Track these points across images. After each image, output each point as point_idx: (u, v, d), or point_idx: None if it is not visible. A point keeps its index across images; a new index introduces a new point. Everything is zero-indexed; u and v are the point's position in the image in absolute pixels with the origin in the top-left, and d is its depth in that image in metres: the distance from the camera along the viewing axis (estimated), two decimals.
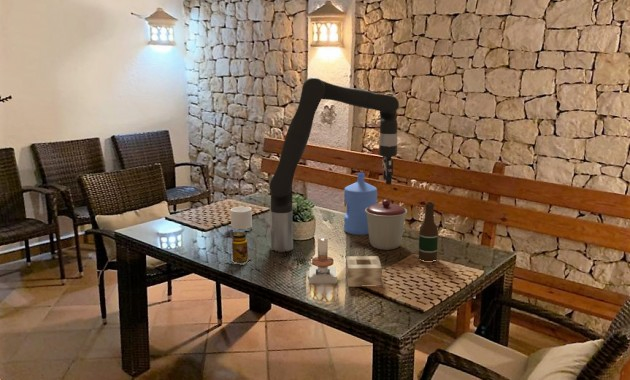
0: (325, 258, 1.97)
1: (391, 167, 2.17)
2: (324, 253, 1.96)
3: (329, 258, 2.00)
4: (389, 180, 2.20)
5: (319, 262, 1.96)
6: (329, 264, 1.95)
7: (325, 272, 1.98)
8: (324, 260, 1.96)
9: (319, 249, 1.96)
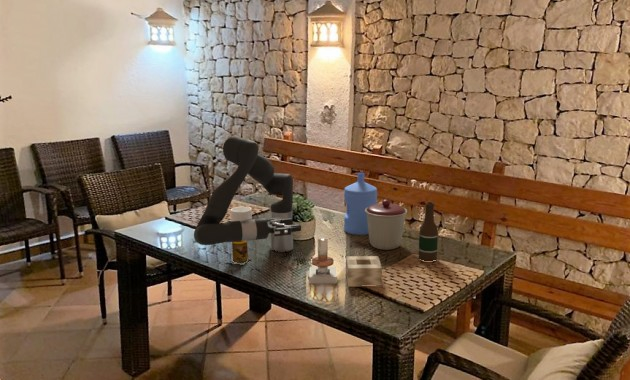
0: (325, 258, 1.97)
1: None
2: (324, 253, 1.96)
3: (329, 258, 2.00)
4: None
5: (319, 262, 1.96)
6: (329, 264, 1.95)
7: (325, 272, 1.98)
8: (324, 260, 1.96)
9: (319, 249, 1.96)
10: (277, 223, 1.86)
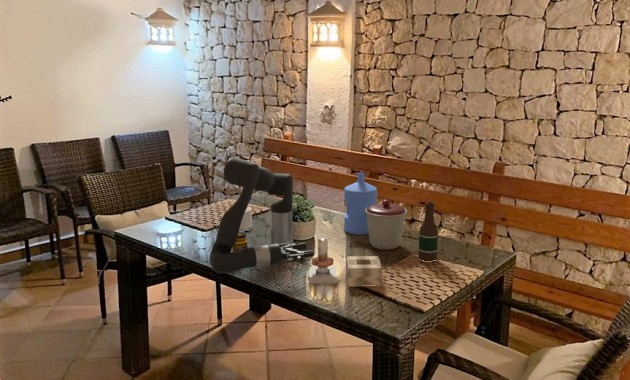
0: (325, 258, 1.97)
1: None
2: (324, 253, 1.96)
3: (329, 258, 2.00)
4: None
5: (319, 262, 1.96)
6: (329, 264, 1.95)
7: (325, 272, 1.98)
8: (324, 260, 1.96)
9: (319, 249, 1.96)
10: (290, 249, 1.91)
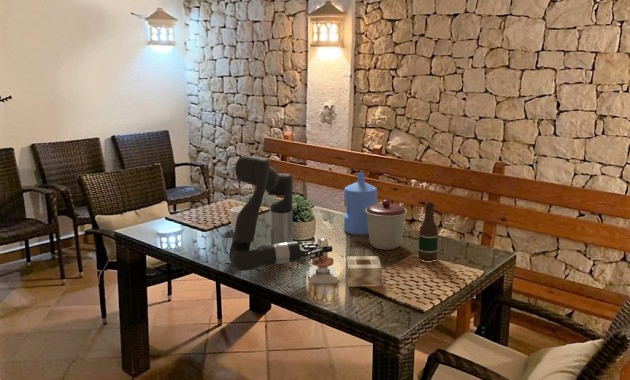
0: (325, 258, 1.97)
1: None
2: (324, 253, 1.96)
3: (329, 258, 2.00)
4: None
5: (319, 262, 1.96)
6: (329, 264, 1.95)
7: (325, 272, 1.98)
8: (324, 260, 1.96)
9: None
10: (309, 246, 1.94)
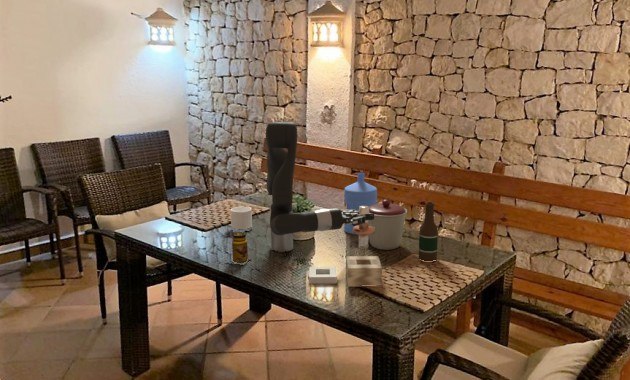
0: (366, 226, 1.92)
1: None
2: (366, 221, 1.91)
3: (370, 227, 1.95)
4: None
5: (360, 230, 1.91)
6: (371, 232, 1.90)
7: (366, 241, 1.93)
8: (365, 228, 1.91)
9: None
10: (350, 213, 1.89)
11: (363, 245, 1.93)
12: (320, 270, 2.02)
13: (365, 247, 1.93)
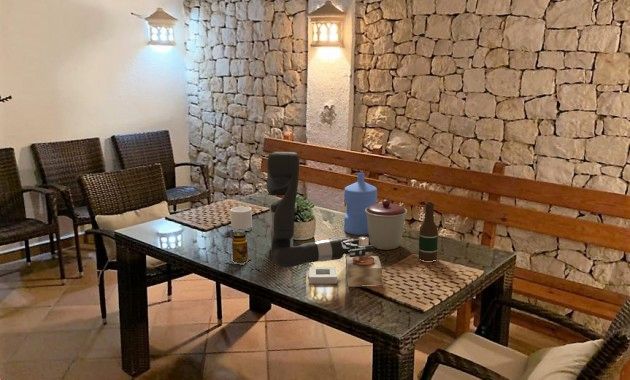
0: (366, 257, 1.94)
1: None
2: (366, 252, 1.94)
3: (369, 257, 1.97)
4: None
5: (360, 261, 1.94)
6: (370, 263, 1.93)
7: None
8: (365, 259, 1.94)
9: None
10: (351, 244, 1.91)
11: None
12: (320, 270, 2.02)
13: None
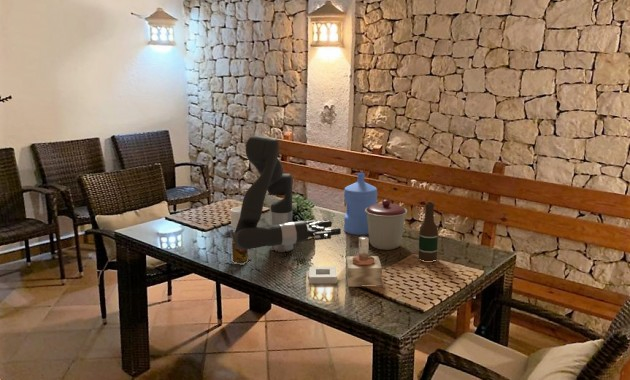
0: (366, 257, 1.94)
1: None
2: (366, 252, 1.94)
3: (369, 257, 1.97)
4: None
5: (360, 261, 1.94)
6: (370, 263, 1.93)
7: None
8: (365, 259, 1.94)
9: (360, 248, 1.94)
10: (316, 226, 1.85)
11: None
12: (320, 270, 2.02)
13: None
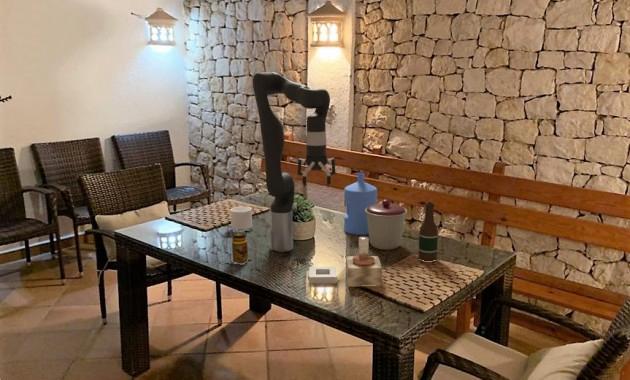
0: (366, 257, 1.94)
1: (298, 166, 2.01)
2: (366, 252, 1.94)
3: (369, 257, 1.97)
4: None
5: (360, 261, 1.94)
6: (370, 263, 1.93)
7: None
8: (365, 259, 1.94)
9: (360, 248, 1.94)
10: None
11: None
12: (320, 270, 2.02)
13: None
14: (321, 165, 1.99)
